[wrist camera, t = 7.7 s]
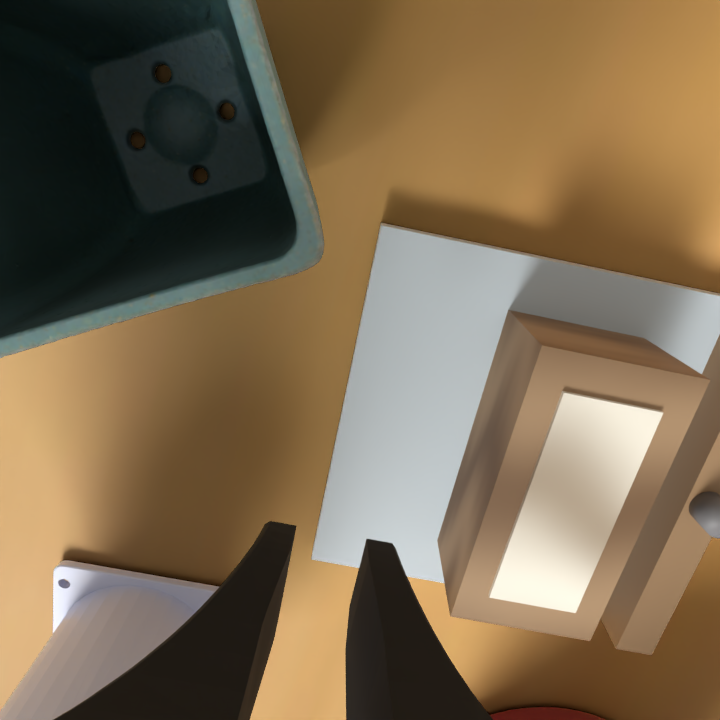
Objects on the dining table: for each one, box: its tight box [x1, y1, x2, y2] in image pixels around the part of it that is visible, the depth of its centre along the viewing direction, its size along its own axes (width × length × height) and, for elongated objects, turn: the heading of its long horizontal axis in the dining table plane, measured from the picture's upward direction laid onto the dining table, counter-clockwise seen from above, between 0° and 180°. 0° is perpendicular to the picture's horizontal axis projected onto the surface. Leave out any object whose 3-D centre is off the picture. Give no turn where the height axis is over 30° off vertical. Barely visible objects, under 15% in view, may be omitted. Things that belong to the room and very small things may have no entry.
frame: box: [437, 310, 710, 641], centre depth 19 cm, size 10×5×4 cm, turn 168°
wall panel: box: [311, 223, 720, 655], centre depth 20 cm, size 14×14×4 cm
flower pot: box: [0, 0, 324, 358], centre depth 14 cm, size 9×9×9 cm
